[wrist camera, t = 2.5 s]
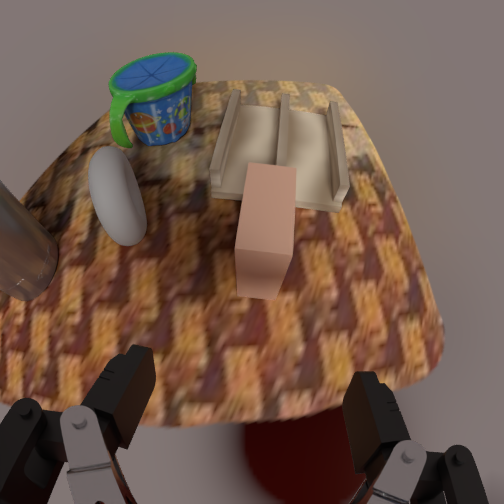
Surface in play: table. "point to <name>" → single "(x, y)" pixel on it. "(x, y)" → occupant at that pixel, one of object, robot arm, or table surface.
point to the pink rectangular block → (265, 230)
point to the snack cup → (153, 98)
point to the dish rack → (282, 151)
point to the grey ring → (117, 196)
